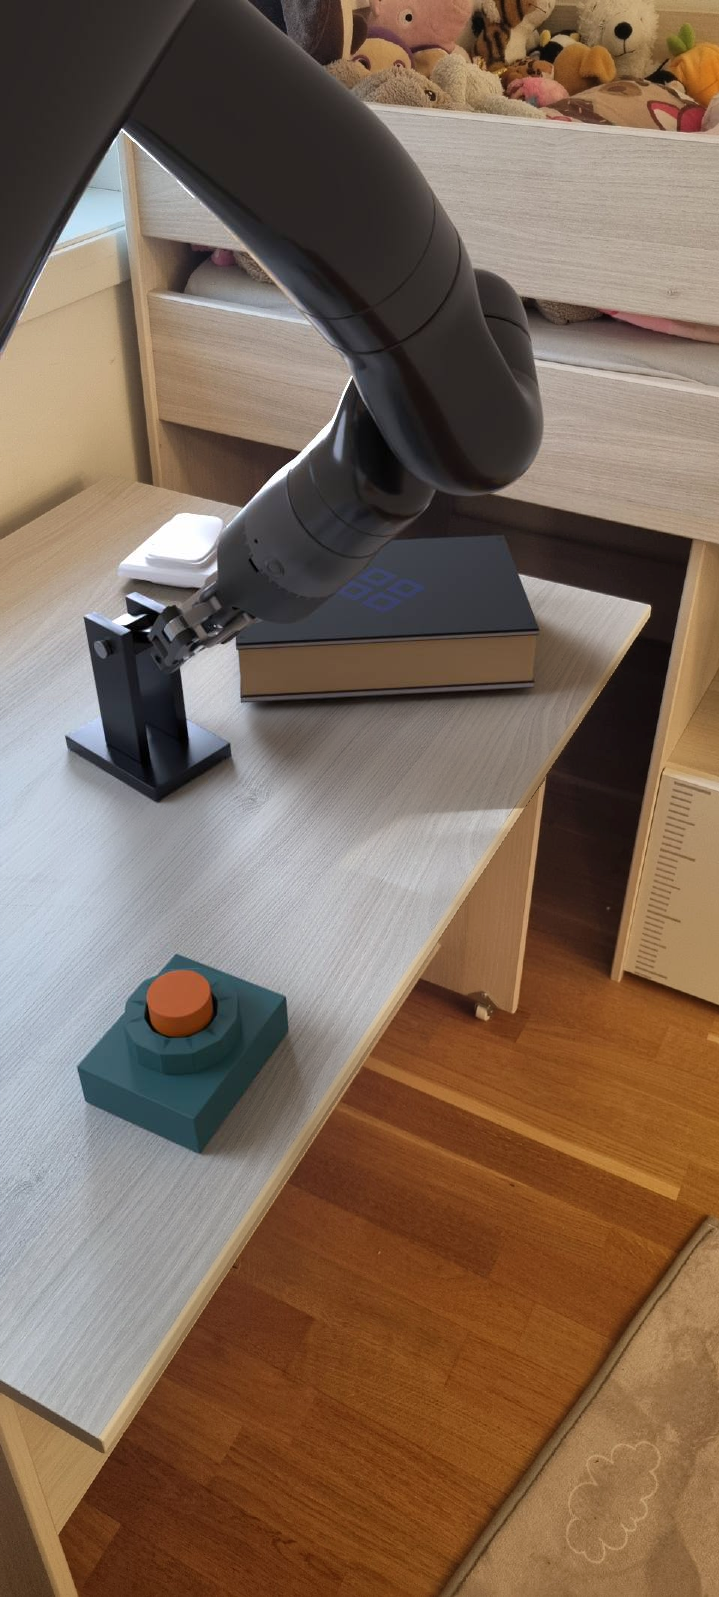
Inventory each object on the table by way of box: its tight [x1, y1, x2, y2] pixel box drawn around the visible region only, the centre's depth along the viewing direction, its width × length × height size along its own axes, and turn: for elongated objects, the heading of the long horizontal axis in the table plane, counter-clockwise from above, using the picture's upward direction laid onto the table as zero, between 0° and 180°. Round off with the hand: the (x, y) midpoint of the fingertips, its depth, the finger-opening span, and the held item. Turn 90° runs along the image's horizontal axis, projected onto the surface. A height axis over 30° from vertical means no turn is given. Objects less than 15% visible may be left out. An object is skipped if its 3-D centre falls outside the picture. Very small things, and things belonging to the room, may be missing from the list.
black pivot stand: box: [64, 591, 232, 803], centre depth 93 cm, size 11×8×13 cm
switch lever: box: [112, 613, 235, 655], centre depth 87 cm, size 11×5×2 cm, turn 49°
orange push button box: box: [76, 953, 290, 1155], centre depth 70 cm, size 10×8×5 cm
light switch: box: [117, 512, 227, 589], centre depth 122 cm, size 11×4×13 cm
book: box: [235, 534, 540, 704], centre depth 107 cm, size 17×25×7 cm
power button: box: [147, 970, 213, 1038], centre depth 68 cm, size 4×4×2 cm
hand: (190, 645), depth 85 cm, fingers closed on switch lever, 4 cm apart
